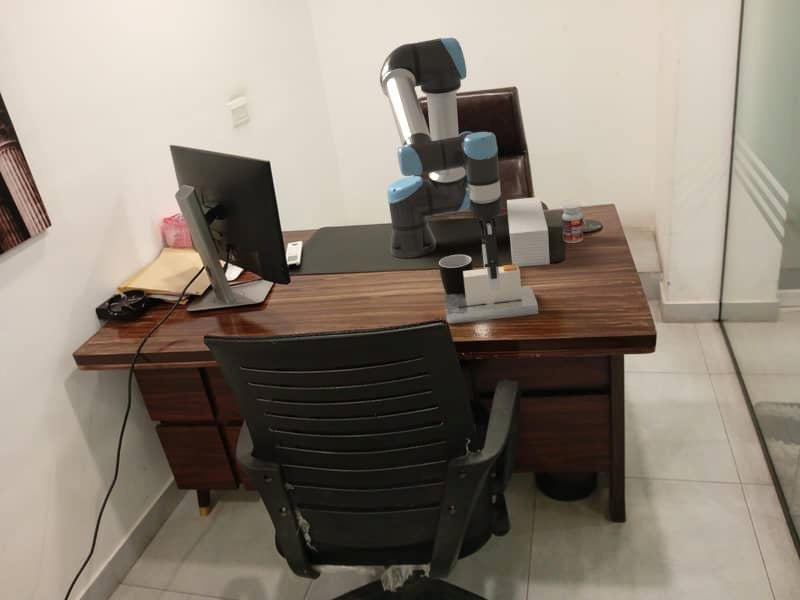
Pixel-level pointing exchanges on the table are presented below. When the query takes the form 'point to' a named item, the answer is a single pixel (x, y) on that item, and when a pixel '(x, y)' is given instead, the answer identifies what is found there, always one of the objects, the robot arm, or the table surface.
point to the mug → (454, 273)
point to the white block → (482, 295)
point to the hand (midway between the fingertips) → (491, 278)
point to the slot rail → (489, 308)
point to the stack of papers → (528, 232)
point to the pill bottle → (572, 223)
